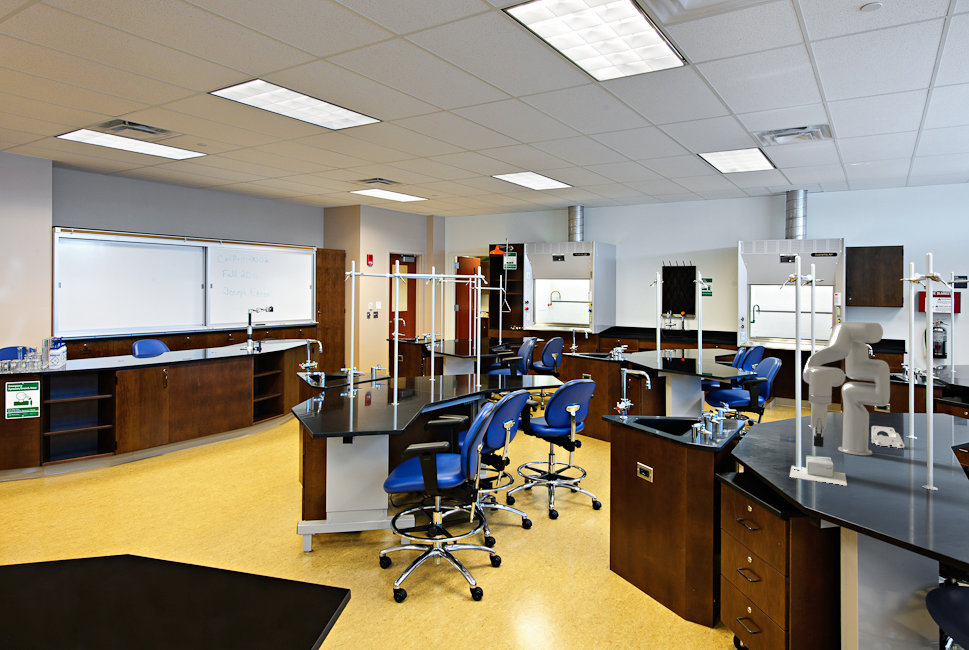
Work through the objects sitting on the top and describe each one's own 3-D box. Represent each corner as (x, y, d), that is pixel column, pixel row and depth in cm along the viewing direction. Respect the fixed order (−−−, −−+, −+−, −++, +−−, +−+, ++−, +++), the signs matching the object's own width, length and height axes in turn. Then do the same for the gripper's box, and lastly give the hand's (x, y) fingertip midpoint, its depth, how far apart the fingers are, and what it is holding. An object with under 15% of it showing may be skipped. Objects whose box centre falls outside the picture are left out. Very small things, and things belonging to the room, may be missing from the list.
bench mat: (791, 466, 217) (791, 465, 217) (845, 474, 208) (845, 473, 207) (789, 477, 202) (789, 476, 202) (847, 486, 192) (847, 485, 192)
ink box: (831, 457, 211) (834, 464, 201) (830, 470, 211) (834, 477, 201) (805, 454, 215) (807, 460, 205) (805, 467, 215) (807, 474, 205)
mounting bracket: (902, 451, 253) (902, 429, 256) (905, 448, 248) (904, 425, 251) (871, 447, 259) (871, 425, 263) (873, 444, 254) (872, 422, 258)
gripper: (809, 396, 219) (807, 441, 219) (808, 401, 206) (806, 448, 207) (831, 398, 215) (829, 444, 215) (831, 403, 202) (830, 451, 203)
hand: (818, 446), depth 211 cm, fingers closed
